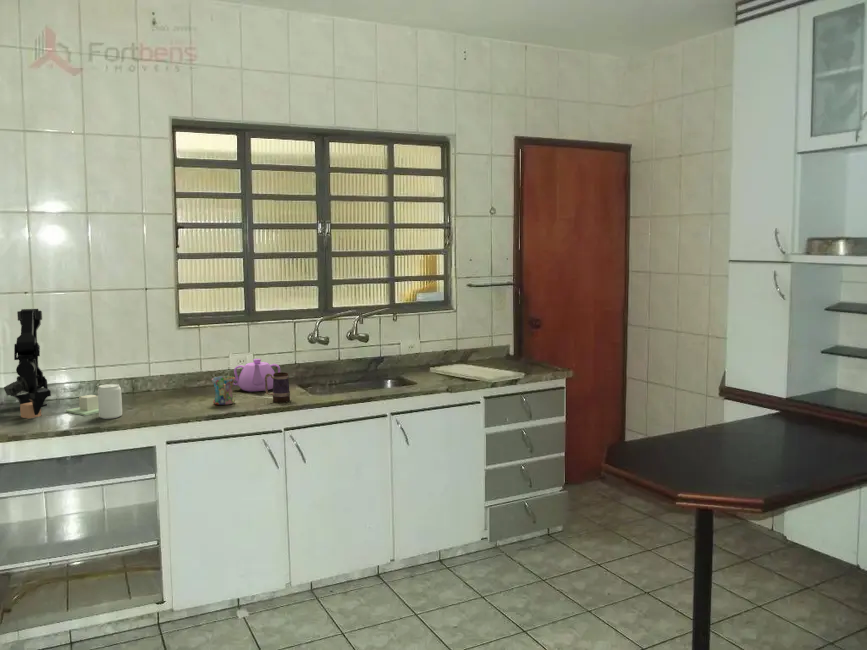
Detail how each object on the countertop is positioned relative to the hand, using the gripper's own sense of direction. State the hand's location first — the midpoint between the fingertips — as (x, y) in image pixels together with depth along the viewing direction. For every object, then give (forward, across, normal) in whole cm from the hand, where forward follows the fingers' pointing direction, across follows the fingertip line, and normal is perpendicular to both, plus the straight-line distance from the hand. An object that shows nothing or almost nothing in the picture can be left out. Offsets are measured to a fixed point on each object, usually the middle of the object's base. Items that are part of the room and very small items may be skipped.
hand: (30, 413), depth 278 cm
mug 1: (+1, +48, +52) cm, 71 cm away
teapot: (+1, +39, +80) cm, 89 cm away
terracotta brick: (+1, 0, 0) cm, 1 cm away
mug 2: (+1, +63, +67) cm, 92 cm away
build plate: (+1, +11, +17) cm, 20 cm away
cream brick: (0, +11, +17) cm, 20 cm away
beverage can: (+1, +27, +15) cm, 31 cm away
